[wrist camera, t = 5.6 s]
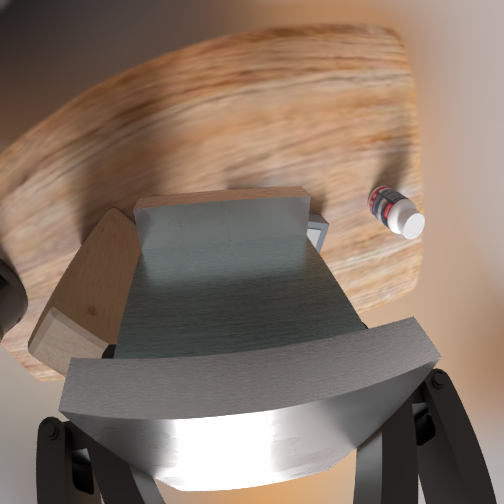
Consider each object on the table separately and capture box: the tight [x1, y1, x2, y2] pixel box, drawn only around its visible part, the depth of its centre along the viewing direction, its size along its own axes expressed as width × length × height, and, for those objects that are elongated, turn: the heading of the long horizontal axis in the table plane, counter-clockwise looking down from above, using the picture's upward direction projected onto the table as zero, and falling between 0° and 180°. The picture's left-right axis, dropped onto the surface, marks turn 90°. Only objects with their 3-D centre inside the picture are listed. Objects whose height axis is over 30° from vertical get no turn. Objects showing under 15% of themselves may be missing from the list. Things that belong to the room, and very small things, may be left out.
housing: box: [59, 187, 442, 491], centre depth 10 cm, size 7×10×9 cm
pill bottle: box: [368, 185, 425, 239], centre depth 35 cm, size 5×5×9 cm
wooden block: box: [28, 208, 142, 377], centre depth 27 cm, size 10×10×20 cm
